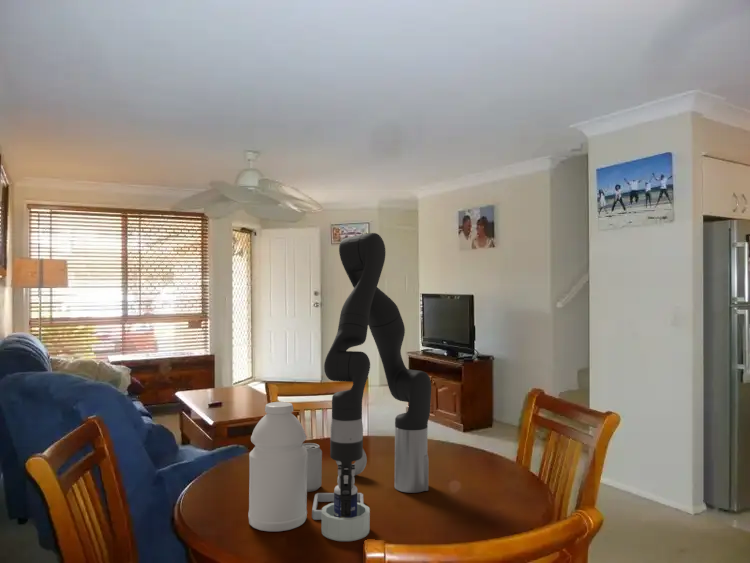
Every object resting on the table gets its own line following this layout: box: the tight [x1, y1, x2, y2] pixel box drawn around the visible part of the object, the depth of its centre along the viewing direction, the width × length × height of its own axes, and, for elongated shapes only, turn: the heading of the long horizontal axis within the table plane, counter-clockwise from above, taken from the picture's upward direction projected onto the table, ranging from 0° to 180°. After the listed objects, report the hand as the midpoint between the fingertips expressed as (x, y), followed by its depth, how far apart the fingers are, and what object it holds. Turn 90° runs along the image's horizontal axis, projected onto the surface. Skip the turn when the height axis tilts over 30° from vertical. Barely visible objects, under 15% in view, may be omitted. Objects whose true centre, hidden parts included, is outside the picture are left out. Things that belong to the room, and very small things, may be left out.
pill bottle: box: [333, 475, 358, 518], centre depth 132 cm, size 5×5×10 cm
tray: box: [311, 492, 364, 521], centre depth 144 cm, size 13×13×2 cm
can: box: [302, 442, 323, 493], centre depth 160 cm, size 8×8×12 cm
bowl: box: [320, 502, 371, 542], centre depth 132 cm, size 11×11×5 cm
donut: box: [335, 449, 368, 477], centre depth 172 cm, size 10×4×10 cm, turn 68°
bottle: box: [247, 401, 308, 532], centre depth 137 cm, size 14×14×28 cm
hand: (346, 510), depth 132 cm, fingers closed on pill bottle, 5 cm apart
